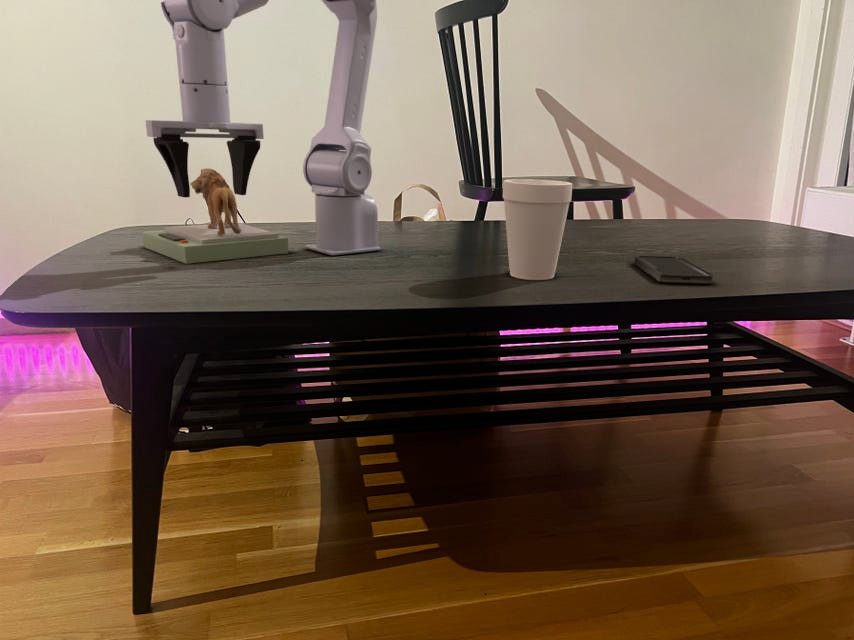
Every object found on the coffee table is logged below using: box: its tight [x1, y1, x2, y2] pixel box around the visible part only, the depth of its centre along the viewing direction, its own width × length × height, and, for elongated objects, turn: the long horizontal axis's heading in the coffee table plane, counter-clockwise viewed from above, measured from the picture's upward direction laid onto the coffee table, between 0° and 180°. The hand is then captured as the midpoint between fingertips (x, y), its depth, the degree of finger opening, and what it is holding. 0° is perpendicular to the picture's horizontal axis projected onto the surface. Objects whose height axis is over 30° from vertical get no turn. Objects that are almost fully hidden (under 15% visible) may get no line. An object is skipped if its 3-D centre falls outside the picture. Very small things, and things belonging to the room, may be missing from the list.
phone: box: [633, 255, 714, 285], centre depth 105 cm, size 8×1×15 cm
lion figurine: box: [189, 167, 242, 235], centre depth 107 cm, size 15×5×9 cm, turn 38°
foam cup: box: [502, 178, 573, 281], centre depth 98 cm, size 10×9×13 cm
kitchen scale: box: [142, 222, 289, 265], centre depth 108 cm, size 16×16×3 cm
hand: (212, 195), depth 92 cm, fingers open, 7 cm apart
